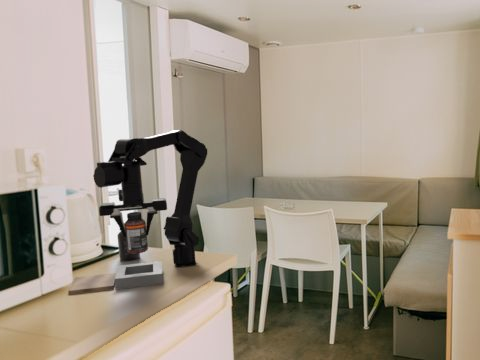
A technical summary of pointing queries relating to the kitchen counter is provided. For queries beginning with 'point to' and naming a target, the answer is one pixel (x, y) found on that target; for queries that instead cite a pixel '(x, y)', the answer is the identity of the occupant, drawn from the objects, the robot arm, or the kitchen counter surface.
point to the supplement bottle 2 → (125, 249)
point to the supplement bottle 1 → (136, 233)
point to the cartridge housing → (138, 275)
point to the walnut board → (92, 283)
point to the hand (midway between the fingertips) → (136, 236)
